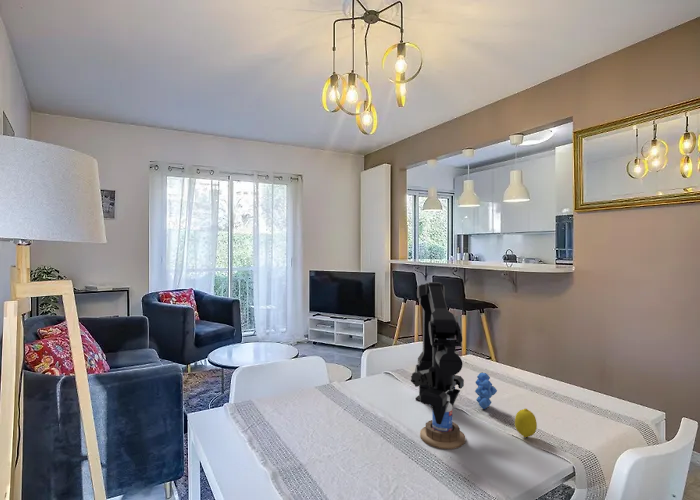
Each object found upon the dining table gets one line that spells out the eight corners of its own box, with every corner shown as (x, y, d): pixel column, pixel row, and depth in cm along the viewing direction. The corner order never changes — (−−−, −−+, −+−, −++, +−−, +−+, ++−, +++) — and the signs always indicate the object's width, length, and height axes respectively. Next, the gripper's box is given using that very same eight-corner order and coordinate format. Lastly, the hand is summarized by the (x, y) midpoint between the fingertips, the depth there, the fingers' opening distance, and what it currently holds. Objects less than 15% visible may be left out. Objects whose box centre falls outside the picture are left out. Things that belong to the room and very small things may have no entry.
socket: (429, 424, 118) (430, 413, 118) (470, 435, 112) (470, 423, 112) (413, 441, 108) (413, 429, 108) (457, 453, 101) (457, 441, 101)
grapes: (502, 416, 124) (503, 378, 124) (480, 416, 124) (481, 377, 124) (491, 402, 135) (492, 366, 135) (471, 401, 136) (471, 366, 136)
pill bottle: (453, 436, 107) (453, 400, 106) (432, 434, 108) (432, 399, 107) (451, 426, 112) (451, 392, 112) (432, 425, 113) (432, 391, 113)
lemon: (535, 434, 112) (535, 406, 112) (537, 444, 107) (538, 414, 107) (514, 431, 114) (514, 403, 114) (515, 440, 109) (515, 411, 109)
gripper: (428, 351, 122) (427, 402, 122) (401, 367, 106) (401, 425, 106) (464, 357, 116) (464, 410, 116) (442, 374, 100) (441, 436, 100)
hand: (442, 419), depth 110 cm, fingers closed on pill bottle, 5 cm apart
